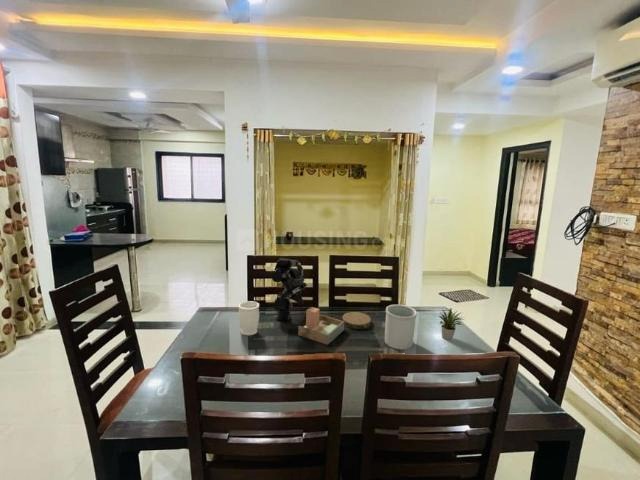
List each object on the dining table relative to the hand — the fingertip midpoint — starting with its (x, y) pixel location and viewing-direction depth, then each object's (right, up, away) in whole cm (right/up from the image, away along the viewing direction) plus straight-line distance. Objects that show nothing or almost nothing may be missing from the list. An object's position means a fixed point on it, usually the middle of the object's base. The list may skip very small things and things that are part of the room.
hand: (302, 304), depth 181 cm
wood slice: (+30, -13, +10) cm, 34 cm away
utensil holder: (+49, -18, -10) cm, 53 cm away
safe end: (+14, -15, -5) cm, 21 cm away
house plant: (+75, -17, -5) cm, 77 cm away
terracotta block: (+5, -11, -1) cm, 12 cm away
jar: (-28, -14, -5) cm, 31 cm away
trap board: (+7, -14, -1) cm, 16 cm away
